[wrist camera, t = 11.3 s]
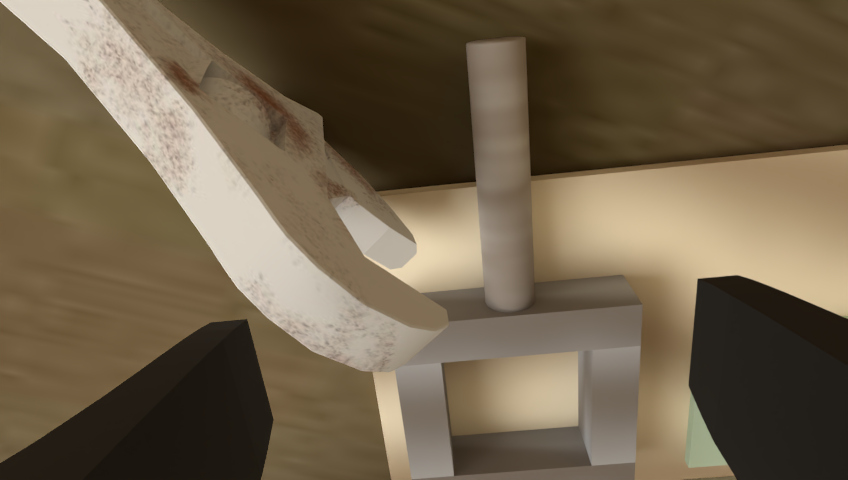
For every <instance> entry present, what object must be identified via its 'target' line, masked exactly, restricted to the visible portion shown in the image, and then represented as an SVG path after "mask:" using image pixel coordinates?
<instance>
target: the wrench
mask: <svg viewBox="0 0 848 480" xmlns="http://www.w3.org/2000/svg"><path fill="white" fill-rule="evenodd" d="M0 2H1V3H2V4H3V5H5V6H6V7H7V8H8V9H9V10H10V11H11V12H12V13H14V14H15V15H16V16H17V17H18V18H19V19H20V20H22V21H23V22H24V23H25V24H26V25H27V26H28V27H29V28H31V29H32V30H33V31H34V32H35V33H36V34H37V35H39V36H40V37H41V38H42V39H43V40H44V41H45V42H46V43H48V44H49V45H50V46H51V47H52V48H53V49H54V50H56V51H57V52H58V53H59V54H60V55H61V56H62V57H63V58H65V59H66V61H67V62H68V63H69V64H70V65H71V67H72V68H73V69H74V70H75V71H76V73H77V74H78V75H79V76H80V78H81V79H82V80H83V81H84V82H85V84H86V85H87V86H88V87H89V88H90V90H91V91H92V92H93V93H94V95H95V96H96V97H97V98H98V99H99V101H100V102H101V103H102V104H103V105H104V107H105V108H106V109H107V110H108V112H109V113H110V114H111V115H112V116H113V118H114V119H115V120H116V121H117V122H118V124H119V125H120V126H121V127H122V129H123V130H124V131H125V132H126V133H127V135H128V136H129V137H130V138H131V139H132V141H133V142H134V143H135V144H136V146H137V147H138V148H139V149H140V150H141V152H142V153H143V154H144V155H145V156H146V158H147V159H148V160H149V161H150V163H151V164H152V165H153V167H154V168H155V169H156V171H157V172H158V174H159V175H160V176H161V178H162V179H163V181H164V182H165V184H166V185H167V186H168V188H169V189H170V191H171V192H172V194H173V195H174V196H175V198H176V199H177V201H178V202H179V204H180V205H181V206H182V208H183V209H184V211H185V212H186V214H187V215H188V216H189V218H190V219H191V221H192V222H193V224H194V225H195V226H196V228H197V229H198V231H199V232H200V234H201V235H202V236H203V238H204V239H205V241H206V242H207V244H208V245H209V246H210V248H211V249H212V251H213V252H214V254H215V256H216V257H217V259H218V260H219V262H220V263H221V265H222V266H223V268H224V269H225V271H226V272H227V274H228V275H229V277H230V278H231V279H232V281H233V282H234V284H235V285H236V286H237V288H238V289H239V290H240V291H241V292H242V293H243V294H244V295H245V296H246V297H247V298H248V299H249V300H250V301H251V302H252V303H253V304H254V305H255V306H256V307H257V308H258V309H259V310H260V311H261V312H262V313H263V314H264V315H265V316H266V317H267V318H268V319H270V320H271V321H272V322H274V323H275V324H276V325H278V326H279V327H280V328H282V329H283V330H284V331H286V332H287V333H289V334H290V335H291V336H293V337H294V338H295V339H297V340H298V341H299V342H301V343H302V344H303V345H305V346H306V347H307V348H309V349H310V350H311V351H313V352H315V353H318V354H320V355H323V356H325V357H328V358H330V359H333V360H336V361H338V362H341V363H343V364H346V365H348V366H351V367H353V368H356V369H358V370H361V371H374V372H391V371H393V370H395V369H397V368H399V367H401V366H403V365H405V364H406V363H407V362H408V361H409V360H410V359H412V358H413V357H414V356H415V355H416V354H417V353H418V352H419V351H421V350H422V349H423V348H424V347H425V346H426V345H427V344H429V343H430V342H431V341H432V340H433V339H434V338H435V337H436V336H438V335H439V334H440V333H441V332H442V331H443V330H444V329H445V328H447V327H448V326H449V322H448V315H447V310H446V309H445V308H443V307H442V306H440V305H438V304H437V303H435V302H434V301H432V300H431V299H429V298H428V297H426V296H425V295H423V294H421V293H420V292H418V291H417V290H415V289H414V288H412V287H411V286H409V285H408V284H406V283H404V282H403V281H401V280H400V279H398V278H397V277H395V276H394V275H392V274H391V273H389V272H388V271H386V270H384V269H383V268H381V267H380V266H378V265H377V264H375V263H374V262H372V261H371V260H369V259H367V258H366V257H364V255H366V256H368V257H369V258H371V259H373V260H375V261H376V262H378V263H380V264H382V265H383V266H385V267H387V268H389V269H390V270H391V269H396V268H402V267H403V266H404V265H405V264H406V263H407V262H408V261H409V260H410V259H411V258H413V257H414V256H415V255H416V254H417V244H416V242H415V239H414V237H413V234H412V233H411V232H410V231H409V229H408V228H407V227H406V226H405V224H404V223H403V222H402V221H401V220H400V218H399V217H398V216H397V215H396V214H395V212H394V211H393V210H392V209H391V207H390V206H389V205H388V204H387V203H386V202H385V201H384V200H383V199H382V197H381V196H380V195H379V194H378V193H377V192H376V191H375V190H374V189H373V188H372V186H371V185H370V184H369V183H368V182H367V181H366V180H365V179H364V178H363V176H362V175H360V174H359V173H358V172H357V171H356V170H355V169H354V168H353V167H352V166H351V165H350V164H349V163H348V162H347V161H346V160H345V159H344V158H343V157H342V156H341V155H339V154H338V153H337V152H336V151H335V150H334V149H333V148H332V147H331V146H330V145H329V144H328V143H327V142H326V141H324V133H323V118H322V116H320V115H319V114H318V113H316V112H314V111H312V110H310V109H309V108H307V107H305V106H303V105H301V104H299V103H297V102H295V101H293V100H291V99H289V98H287V97H285V96H284V95H282V94H281V93H279V92H278V91H276V90H275V89H274V88H272V87H271V86H269V85H268V84H266V83H265V82H264V81H262V80H261V79H259V78H258V77H257V76H255V75H254V74H252V73H251V72H249V71H248V70H247V69H245V68H244V67H242V66H241V65H239V64H238V63H237V62H235V61H234V60H232V59H231V58H230V57H228V56H227V55H225V54H224V53H222V52H221V51H220V50H218V49H217V48H216V47H214V46H213V45H212V44H211V43H209V42H208V41H207V40H206V39H204V38H203V37H202V36H201V35H199V34H198V33H197V32H195V31H194V30H193V29H192V28H190V27H189V26H188V25H187V24H185V23H184V22H183V21H182V20H180V19H179V18H178V17H177V16H175V15H174V14H173V13H171V12H170V11H169V10H168V9H166V8H165V7H164V6H163V5H162V4H161V3H160V2H159V1H157V0H0ZM363 254H364V255H363Z"/></svg>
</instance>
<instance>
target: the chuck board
mask: <svg viewBox="0 0 848 480" xmlns="http://www.w3.org/2000/svg"><path fill="white" fill-rule="evenodd" d="M466 53H467V66H468V79H469V93H470V106H471V119H472V133H473V146H474V159H475V172H476V182H467V183H457V184H447V185H437V186H427V187H417V188H407V189H397V190H387V191H377V193H378V194H379V195H380V196H381V197H382V199H383V200H384V201H385V202H386V203H387V204H388V205H389V206H390V207H391V209H392V210H393V211H394V212H395V214H396V215H397V216H398V217H399V218H400V220H401V221H402V222H403V223H404V224H405V226H406V227H407V228H408V229H409V231H410V232H411V233H412V234H413V237H414V239H415V242H416V244H417V254H416V255H415V256H414V257H413V258H411V259H410V260H409V261H408V262H407V263H406V264H405V265H404V266H403V267H402V268H396V269H391V270H390V269H389V268H387V267H385V266H383V265H382V264H380V263H378V262H376V261H375V260H373V259H371V258H369V257H368V256H366V255H364V254H363V255H364V257H366V258H367V259H369V260H371V261H372V262H374V263H375V264H377V265H378V266H380V267H381V268H383V269H384V270H386V271H388V272H389V273H391V274H392V275H394V276H395V277H397V278H398V279H400V280H401V281H403V282H404V283H406V284H408V285H409V286H411V287H412V288H414V289H415V290H417V291H418V292H420V293H421V294H423V295H425V296H426V297H428V298H429V299H431V300H432V301H434V302H435V303H437V304H438V305H440V306H442V307H443V308H445V309H446V310H447V315H448V322H449V326H448V327H447V328H445V329H444V330H443V331H442V332H441V333H440V334H439V335H438V336H436V337H435V338H434V339H433V340H432V341H431V342H430V343H429V344H427V345H426V346H425V347H424V348H423V349H422V350H421V351H419V352H418V353H417V354H416V355H415V356H414V357H413V358H412V359H410V360H409V361H408V362H407V363H406V364H405V365H403V366H401V367H399V368H397V369H395V370H393V371H391V372H374V371H373V376H374V382H375V388H376V394H377V400H378V406H379V411H380V417H381V423H382V429H383V435H384V441H385V446H386V452H387V458H388V464H389V470H390V476H391V480H682V479H695V478H709V477H723V476H734V474H733V472H732V471H731V469H730V467H729V466H728V465H721V466H707V467H694V468H689V467H688V465H687V464H686V462H685V451H686V439H687V428H688V417H689V406H690V395H691V391H690V388H689V386H688V384H689V373H690V361H691V350H692V338H693V326H694V315H695V303H696V292H697V280H698V279H700V278H711V277H722V276H733V275H739V276H742V277H746V278H749V279H752V280H755V281H758V282H760V283H763V284H766V285H768V286H771V287H773V288H776V289H778V290H781V291H783V292H786V293H788V294H790V295H793V296H795V297H797V298H800V299H802V300H805V301H807V302H809V303H812V304H814V305H816V306H819V307H821V308H823V309H826V310H828V311H830V312H833V313H835V314H838V315H840V316H848V145H838V146H828V147H818V148H808V149H798V150H788V151H778V152H768V153H758V154H748V155H738V156H727V157H717V158H707V159H697V160H687V161H677V162H667V163H657V164H647V165H637V166H627V167H617V168H607V169H597V170H587V171H577V172H567V173H557V174H547V175H537V176H531V170H530V143H529V116H528V89H527V62H526V38H525V37H499V38H490V39H482V40H477V41H472V42H468V43H466Z"/></svg>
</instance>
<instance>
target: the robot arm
mask: <svg viewBox="0 0 848 480" xmlns="http://www.w3.org/2000/svg"><path fill="white" fill-rule="evenodd" d="M688 386H689V388H690V391H691V393H692V395H693V397H694V400H695V402H696V404H697V407H698V409H699V411H700V414H701V416H702V418H703V420H704V422H705V424H706V426H707V429H708V431H709V433H710V435H711V437H712V439H713V441H714V443H715V445H716V446H717V448H718V450H719V451H720V453H721V455H722V456H723V458H724V459H725V461H726V463H727V464H728V466H729V467H730V469H731V471H732V472H733V474H734V476H735V477H736V479H737V480H848V319H847V318H845V317H842V316H840V315H838V314H835V313H833V312H830V311H828V310H826V309H823V308H821V307H819V306H816V305H814V304H812V303H809V302H807V301H805V300H802V299H800V298H797V297H795V296H793V295H790V294H788V293H786V292H783V291H781V290H778V289H776V288H773V287H771V286H768V285H766V284H763V283H760V282H758V281H755V280H752V279H749V278H746V277H742V276H739V275H733V276H722V277H711V278H700V279H698V280H697V292H696V303H695V315H694V326H693V338H692V350H691V361H690V373H689V384H688ZM272 424H273V416H272V412H271V409H270V405H269V401H268V397H267V393H266V389H265V386H264V382H263V378H262V374H261V370H260V367H259V363H258V359H257V355H256V351H255V348H254V344H253V340H252V336H251V332H250V329H249V325H248V321H247V319H245V320H234V321H223V322H212V323H209V324H207V325H206V326H204V327H202V328H200V329H199V330H197V331H195V332H194V333H192V334H191V335H189V336H188V337H186V338H185V339H183V340H182V341H181V342H179V343H178V344H176V345H175V346H173V347H172V348H171V349H169V350H168V351H166V352H165V353H164V354H162V355H161V356H159V357H158V358H157V359H155V360H154V361H153V362H151V363H150V364H148V365H147V366H146V367H144V368H143V369H141V370H140V371H139V372H137V373H136V374H134V375H133V376H132V377H130V378H129V379H127V380H126V381H125V382H123V383H122V384H120V385H119V386H118V387H116V388H115V389H113V390H112V391H111V392H109V393H108V394H106V395H105V396H103V397H102V398H100V399H99V400H97V401H96V402H94V403H93V404H91V405H90V406H88V407H87V408H85V409H84V410H83V411H81V412H80V413H78V414H77V415H75V416H74V417H72V418H71V419H69V420H68V421H66V422H65V423H63V424H62V425H60V426H59V427H57V428H56V429H54V430H53V431H51V432H50V433H48V434H47V435H45V436H44V437H42V438H41V439H39V440H37V441H36V442H34V443H33V444H31V445H29V446H28V447H26V448H25V449H23V450H21V451H20V452H18V453H16V454H15V455H13V456H11V457H10V458H8V459H7V460H5V461H3V462H2V463H0V480H261V477H262V473H263V468H264V464H265V459H266V455H267V450H268V445H269V440H270V434H271V429H272Z"/></svg>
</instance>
